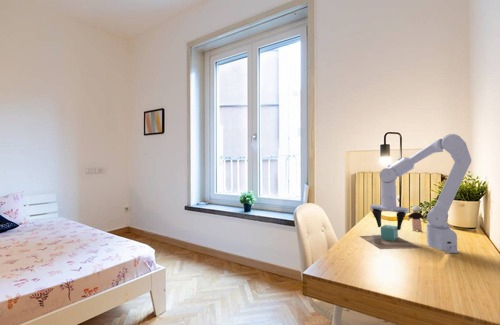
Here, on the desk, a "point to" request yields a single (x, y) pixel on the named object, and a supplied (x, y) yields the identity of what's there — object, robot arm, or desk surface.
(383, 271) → the desk surface
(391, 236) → the teal mini fridge
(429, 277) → the desk surface
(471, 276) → the desk surface
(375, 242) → the plate
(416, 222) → the grandmother figurine
